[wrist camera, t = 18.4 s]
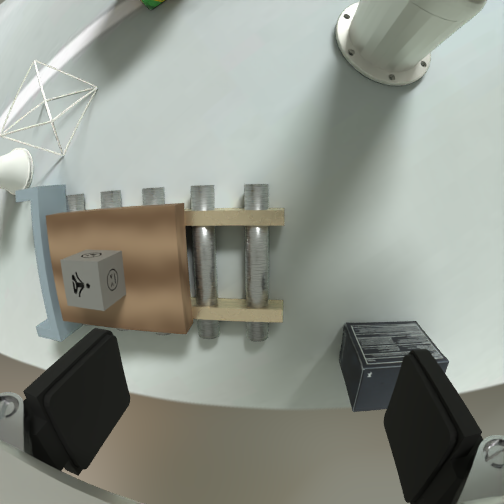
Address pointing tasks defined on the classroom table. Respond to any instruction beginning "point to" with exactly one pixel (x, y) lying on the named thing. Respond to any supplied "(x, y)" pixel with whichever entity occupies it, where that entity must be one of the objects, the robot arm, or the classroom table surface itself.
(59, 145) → the geometric polyhedron
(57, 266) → the slab
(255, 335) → the roller bed
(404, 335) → the small box
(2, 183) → the vase
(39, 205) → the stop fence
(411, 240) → the classroom table surface
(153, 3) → the chalk box
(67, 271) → the dice cube
